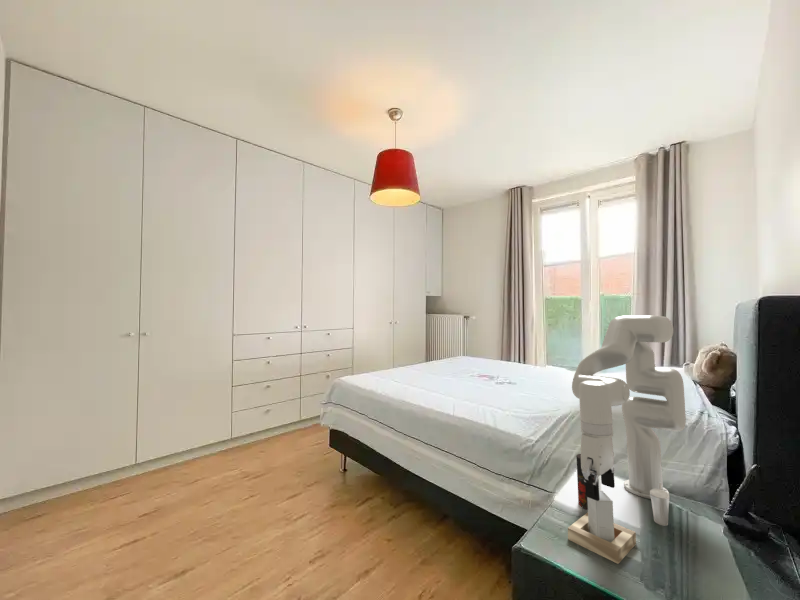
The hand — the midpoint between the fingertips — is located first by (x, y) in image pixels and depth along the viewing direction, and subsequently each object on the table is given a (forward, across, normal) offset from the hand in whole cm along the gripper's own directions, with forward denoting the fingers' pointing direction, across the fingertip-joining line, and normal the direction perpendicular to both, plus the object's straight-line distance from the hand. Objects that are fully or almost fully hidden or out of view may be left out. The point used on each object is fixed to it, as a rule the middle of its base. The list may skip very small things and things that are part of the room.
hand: (600, 491), depth 91 cm
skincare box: (+13, +1, 0) cm, 13 cm away
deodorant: (+13, -15, -10) cm, 22 cm away
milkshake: (+14, -22, +7) cm, 27 cm away
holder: (+12, +1, 0) cm, 12 cm away
